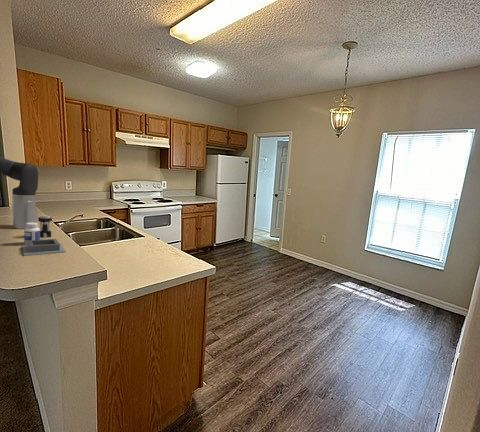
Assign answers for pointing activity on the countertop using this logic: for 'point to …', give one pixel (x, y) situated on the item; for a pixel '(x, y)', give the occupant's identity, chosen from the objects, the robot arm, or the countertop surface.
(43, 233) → the push button
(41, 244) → the socket
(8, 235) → the countertop surface
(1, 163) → the robot arm
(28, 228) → the pill bottle
